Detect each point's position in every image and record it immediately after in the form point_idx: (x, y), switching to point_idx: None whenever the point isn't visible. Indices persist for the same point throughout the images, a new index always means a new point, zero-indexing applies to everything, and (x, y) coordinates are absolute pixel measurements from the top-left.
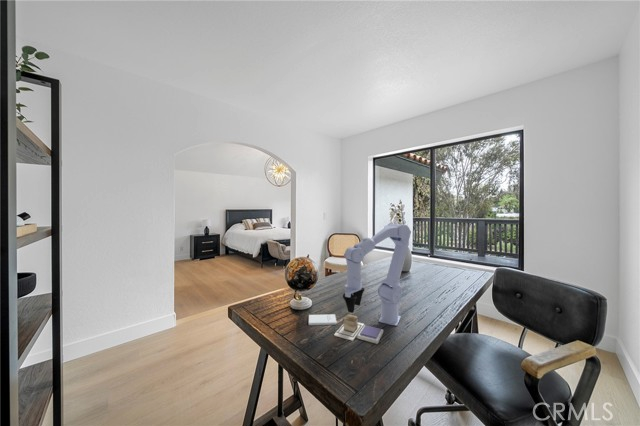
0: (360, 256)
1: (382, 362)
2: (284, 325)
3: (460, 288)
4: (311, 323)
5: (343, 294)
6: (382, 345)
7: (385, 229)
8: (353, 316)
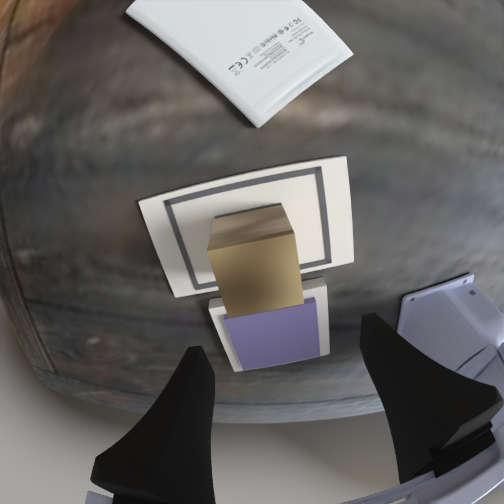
0: None
1: None
2: None
3: None
4: (136, 19)
5: (110, 485)
6: (238, 373)
7: None
8: (286, 285)
